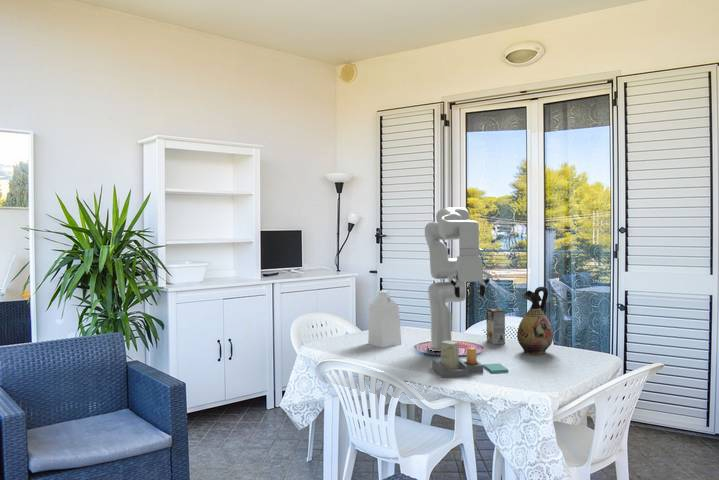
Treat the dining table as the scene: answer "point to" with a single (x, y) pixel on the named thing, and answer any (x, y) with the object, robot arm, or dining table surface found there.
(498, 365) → the mat
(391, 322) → the milk
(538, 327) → the ceramic jug
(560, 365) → the dining table surface
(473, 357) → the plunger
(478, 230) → the robot arm
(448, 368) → the skincare box
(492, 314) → the coffee box
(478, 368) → the socket block
